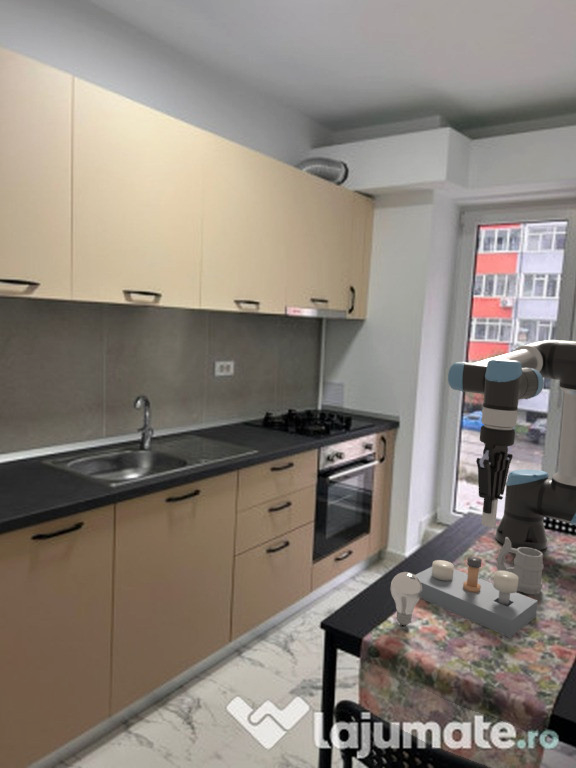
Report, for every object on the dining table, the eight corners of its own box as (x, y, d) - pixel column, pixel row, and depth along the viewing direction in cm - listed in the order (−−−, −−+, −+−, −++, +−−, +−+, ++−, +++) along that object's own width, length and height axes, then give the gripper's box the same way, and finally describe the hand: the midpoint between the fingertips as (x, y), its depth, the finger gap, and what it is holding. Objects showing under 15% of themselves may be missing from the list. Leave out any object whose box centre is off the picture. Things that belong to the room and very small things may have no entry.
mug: (537, 598, 143) (542, 552, 142) (490, 583, 150) (494, 539, 149) (545, 587, 149) (550, 543, 148) (499, 574, 156) (503, 531, 155)
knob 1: (437, 584, 147) (439, 558, 146) (455, 591, 143) (457, 565, 142) (426, 590, 143) (428, 563, 142) (444, 598, 140) (447, 570, 139)
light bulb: (384, 616, 130) (388, 566, 128) (414, 617, 130) (418, 566, 129) (391, 633, 123) (395, 580, 121) (423, 633, 123) (427, 580, 122)
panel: (437, 577, 152) (439, 563, 151) (536, 616, 133) (537, 600, 133) (408, 592, 142) (409, 577, 141) (509, 637, 124) (511, 620, 123)
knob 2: (497, 596, 135) (500, 568, 134) (519, 605, 132) (522, 576, 131) (487, 603, 132) (490, 574, 131) (509, 612, 128) (512, 582, 127)
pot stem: (468, 583, 140) (470, 554, 139) (483, 589, 137) (486, 560, 136) (459, 588, 137) (462, 558, 136) (475, 594, 134) (478, 564, 134)
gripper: (496, 421, 138) (487, 515, 140) (468, 426, 129) (459, 526, 132) (526, 427, 132) (516, 524, 135) (499, 431, 124) (489, 536, 126)
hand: (488, 525), depth 133 cm, fingers closed
